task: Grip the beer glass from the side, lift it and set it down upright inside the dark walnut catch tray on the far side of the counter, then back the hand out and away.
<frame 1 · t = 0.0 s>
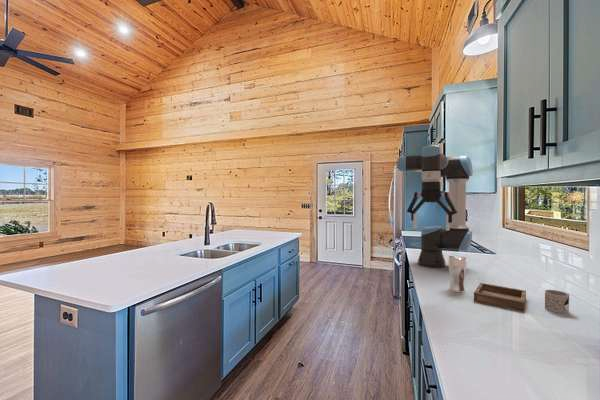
hand: (430, 229, 124), 28 cm above the countertop, tool pointing down, fingers open, 13 cm apart
beer glass: (457, 290, 127), on the countertop
catch tray: (500, 300, 115), on the countertop
mug: (555, 309, 106), on the countertop
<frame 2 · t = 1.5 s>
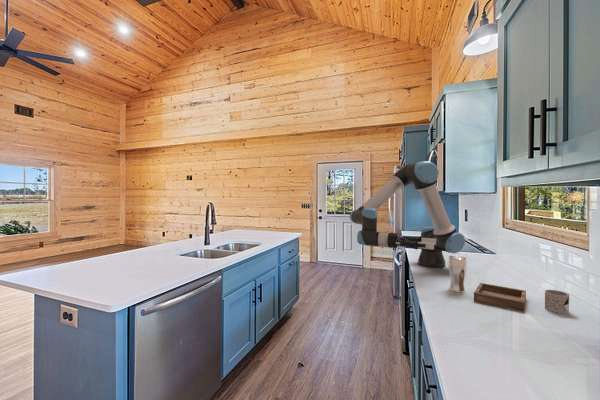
hand: (435, 243, 131), 20 cm above the countertop, tool horizontal, fingers open, 13 cm apart
nothing on the countertop moved.
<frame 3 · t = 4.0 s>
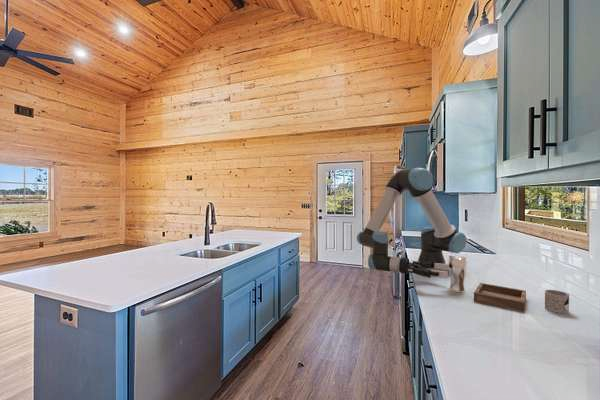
hand: (448, 271, 127), 8 cm above the countertop, tool horizontal, fingers open, 13 cm apart
nothing on the countertop moved.
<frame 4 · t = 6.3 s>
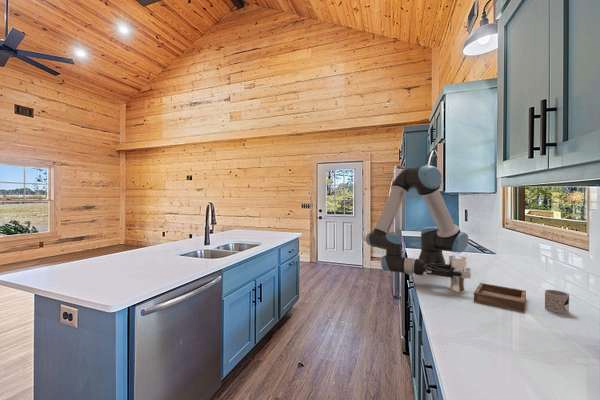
hand: (470, 273, 124), 9 cm above the countertop, tool horizontal, fingers closed on beer glass, 7 cm apart
beer glass: (457, 290, 127), on the countertop, touching gripper
everything else where it was.
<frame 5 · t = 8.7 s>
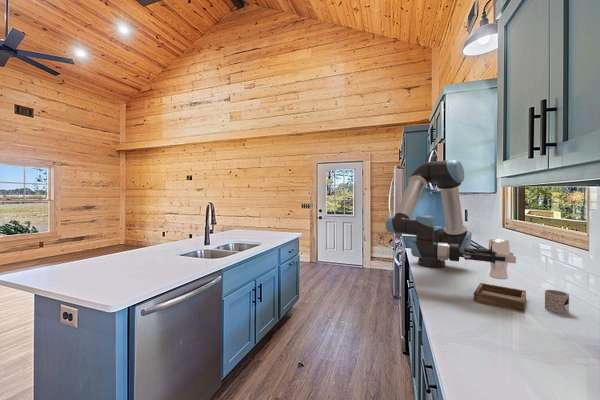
hand: (514, 257, 112), 18 cm above the countertop, tool horizontal, fingers closed on beer glass, 7 cm apart
beer glass: (498, 277, 114), point 9 cm above the countertop, touching gripper
everything else where it was.
when the fingers open (11 cm above the countertop, at t = 11.2 s): beer glass drops 1 cm, resting on catch tray.
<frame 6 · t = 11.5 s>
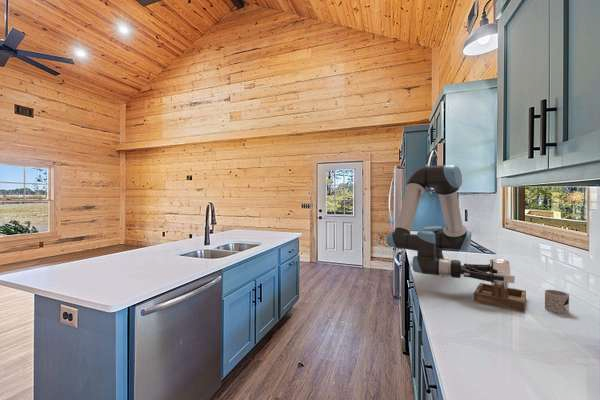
hand: (512, 275, 112), 11 cm above the countertop, tool horizontal, fingers open, 11 cm apart
beer glass: (499, 298, 115), point 1 cm above the countertop, touching catch tray
everything else where it was.
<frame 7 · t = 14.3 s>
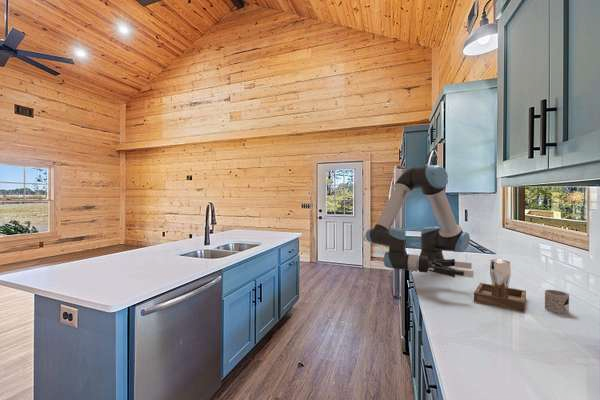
hand: (472, 269, 120), 11 cm above the countertop, tool horizontal, fingers open, 13 cm apart
nothing on the countertop moved.
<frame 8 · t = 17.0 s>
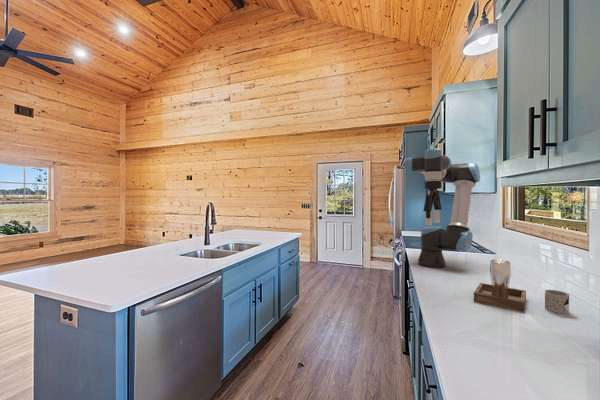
hand: (432, 223, 138), 29 cm above the countertop, tool pointing down, fingers open, 13 cm apart
nothing on the countertop moved.
at the end: beer glass inside the target area on the catch tray (0.1 cm from its centre), point 0.8 cm above the catch tray's base; beer glass tilted 0°; the gripper is holding nothing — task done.
